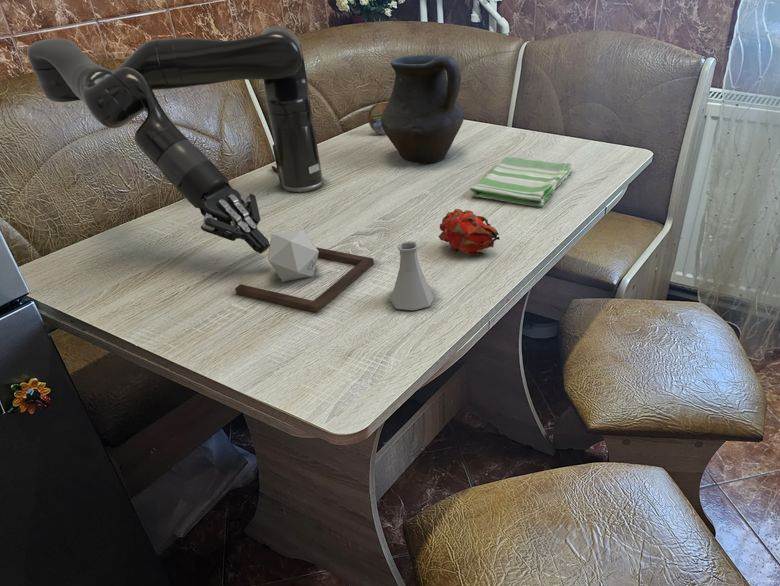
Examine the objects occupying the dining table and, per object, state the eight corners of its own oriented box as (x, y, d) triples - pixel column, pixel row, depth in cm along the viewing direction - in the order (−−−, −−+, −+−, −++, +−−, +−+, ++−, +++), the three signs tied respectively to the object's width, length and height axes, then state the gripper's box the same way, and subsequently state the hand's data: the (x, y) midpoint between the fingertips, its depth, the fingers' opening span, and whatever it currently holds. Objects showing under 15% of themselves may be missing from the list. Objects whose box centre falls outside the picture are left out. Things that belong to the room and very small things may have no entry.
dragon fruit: (438, 250, 122) (495, 269, 119) (423, 241, 114) (483, 262, 111) (453, 208, 122) (510, 226, 118) (439, 196, 113) (500, 216, 110)
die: (309, 294, 108) (330, 239, 107) (257, 275, 105) (278, 218, 104) (305, 287, 116) (324, 236, 115) (257, 270, 113) (276, 217, 112)
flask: (390, 290, 107) (385, 236, 101) (433, 288, 107) (430, 234, 101) (390, 313, 101) (384, 257, 95) (435, 310, 101) (431, 254, 96)
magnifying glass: (372, 137, 177) (369, 105, 172) (368, 134, 179) (365, 103, 174) (421, 128, 183) (419, 98, 178) (416, 125, 185) (414, 95, 180)
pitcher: (420, 140, 173) (413, 41, 159) (485, 154, 163) (484, 49, 148) (368, 162, 160) (356, 55, 145) (436, 178, 149) (430, 65, 135)
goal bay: (236, 294, 107) (234, 288, 106) (299, 249, 120) (298, 243, 120) (317, 313, 102) (316, 306, 101) (374, 264, 115) (373, 258, 114)
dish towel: (573, 172, 150) (574, 161, 149) (543, 209, 133) (544, 196, 132) (503, 163, 156) (503, 152, 155) (466, 198, 139) (465, 186, 138)
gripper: (211, 174, 116) (279, 245, 119) (156, 200, 106) (232, 277, 109) (227, 148, 111) (297, 223, 114) (171, 173, 101) (249, 254, 104)
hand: (265, 249), depth 112 cm, fingers closed
